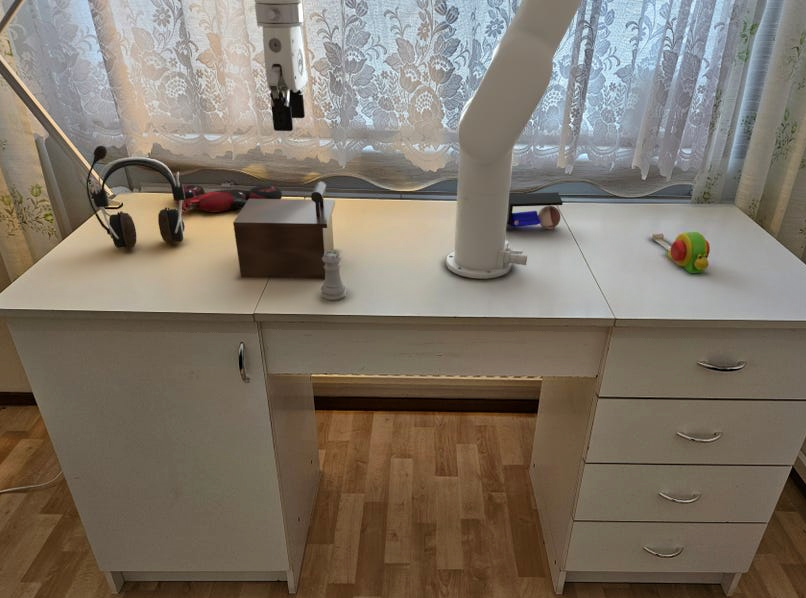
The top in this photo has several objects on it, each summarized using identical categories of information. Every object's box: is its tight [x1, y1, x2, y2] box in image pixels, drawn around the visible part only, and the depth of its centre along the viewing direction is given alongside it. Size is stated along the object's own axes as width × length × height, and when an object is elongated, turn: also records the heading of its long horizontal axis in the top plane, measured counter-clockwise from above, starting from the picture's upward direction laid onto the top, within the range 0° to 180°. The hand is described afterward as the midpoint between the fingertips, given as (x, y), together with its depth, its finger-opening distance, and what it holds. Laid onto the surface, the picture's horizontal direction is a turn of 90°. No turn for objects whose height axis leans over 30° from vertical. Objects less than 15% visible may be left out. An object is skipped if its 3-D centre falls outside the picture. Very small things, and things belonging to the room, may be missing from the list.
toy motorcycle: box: [175, 184, 283, 213], centre depth 150 cm, size 25×5×16 cm
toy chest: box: [233, 215, 335, 280], centre depth 124 cm, size 16×13×10 cm
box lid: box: [232, 181, 336, 228], centre depth 119 cm, size 16×13×5 cm
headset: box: [85, 145, 186, 251], centre depth 126 cm, size 17×8×20 cm, turn 110°
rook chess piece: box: [320, 250, 347, 302], centre depth 113 cm, size 4×4×8 cm
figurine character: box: [506, 192, 563, 230], centre depth 143 cm, size 7×8×15 cm
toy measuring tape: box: [651, 231, 711, 274], centre depth 131 cm, size 6×19×7 cm, turn 9°
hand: (290, 123), depth 116 cm, fingers open, 9 cm apart
